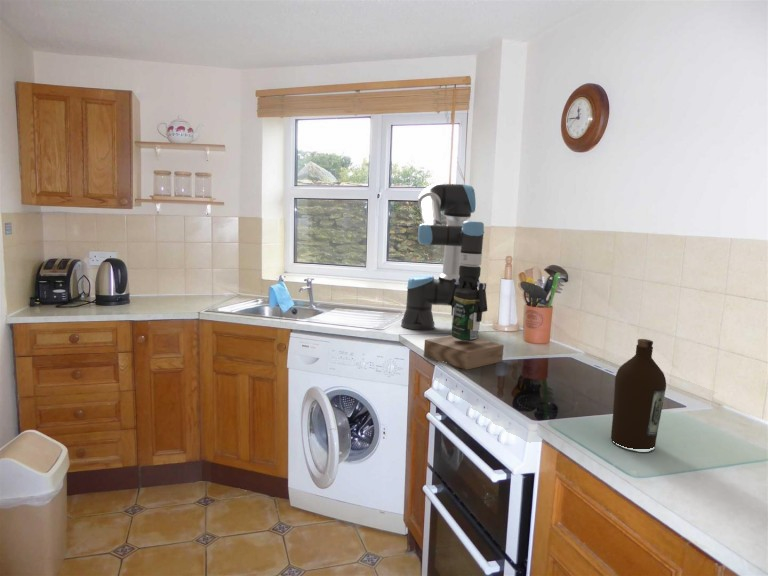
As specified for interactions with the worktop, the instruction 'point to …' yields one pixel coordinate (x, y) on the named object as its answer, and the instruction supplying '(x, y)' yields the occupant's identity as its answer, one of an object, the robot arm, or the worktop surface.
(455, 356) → the block
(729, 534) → the worktop surface
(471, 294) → the coffee jar
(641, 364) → the olive oil
